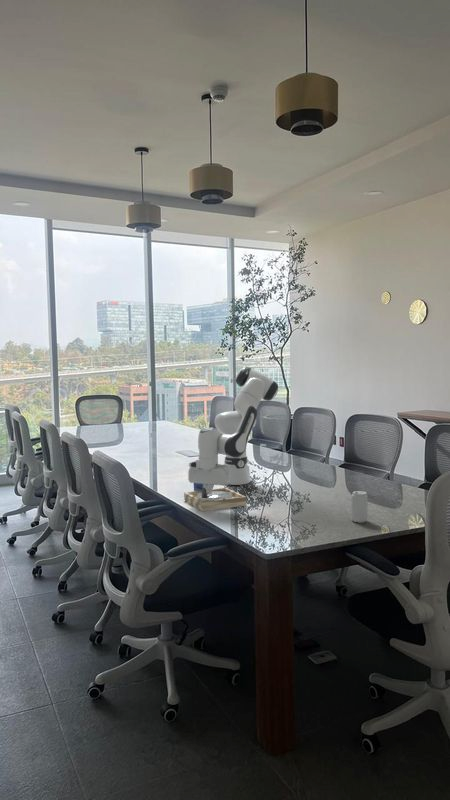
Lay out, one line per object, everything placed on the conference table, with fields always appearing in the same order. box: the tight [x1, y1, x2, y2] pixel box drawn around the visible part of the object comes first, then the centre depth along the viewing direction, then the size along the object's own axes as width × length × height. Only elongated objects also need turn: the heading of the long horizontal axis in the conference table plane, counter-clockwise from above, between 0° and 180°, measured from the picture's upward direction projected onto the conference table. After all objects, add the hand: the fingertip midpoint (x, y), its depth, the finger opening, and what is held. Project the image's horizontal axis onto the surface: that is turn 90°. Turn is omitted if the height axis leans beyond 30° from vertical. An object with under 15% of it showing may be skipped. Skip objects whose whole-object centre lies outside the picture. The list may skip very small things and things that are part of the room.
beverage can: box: [350, 490, 369, 524], centre depth 241 cm, size 6×6×12 cm
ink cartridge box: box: [193, 483, 210, 491], centre depth 292 cm, size 10×6×14 cm, turn 161°
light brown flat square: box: [183, 487, 247, 512], centre depth 275 cm, size 22×22×4 cm
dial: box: [197, 487, 233, 501], centre depth 275 cm, size 17×17×6 cm
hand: (209, 493), depth 269 cm, fingers closed
